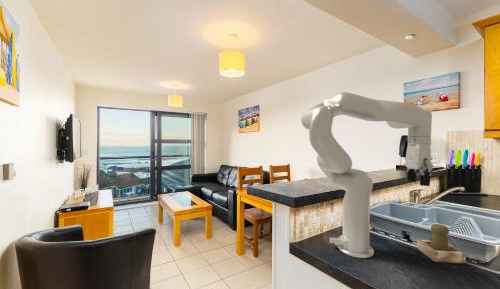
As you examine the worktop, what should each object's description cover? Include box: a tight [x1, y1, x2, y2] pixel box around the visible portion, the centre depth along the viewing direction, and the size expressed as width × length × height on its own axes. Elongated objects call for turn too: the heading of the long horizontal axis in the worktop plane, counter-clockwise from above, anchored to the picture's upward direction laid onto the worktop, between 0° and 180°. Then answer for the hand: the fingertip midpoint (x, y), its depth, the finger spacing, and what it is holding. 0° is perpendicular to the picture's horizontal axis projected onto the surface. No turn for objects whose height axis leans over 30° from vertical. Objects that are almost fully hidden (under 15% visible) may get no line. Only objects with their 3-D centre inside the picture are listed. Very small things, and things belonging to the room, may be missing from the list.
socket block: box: [416, 239, 467, 264], centre depth 84 cm, size 10×10×4 cm
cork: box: [430, 223, 450, 251], centre depth 84 cm, size 6×6×11 cm
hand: (417, 183), depth 91 cm, fingers open, 9 cm apart
